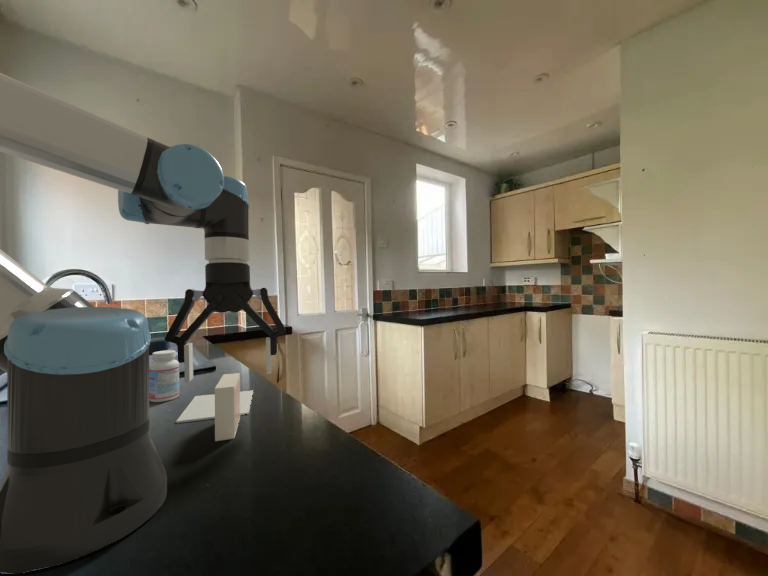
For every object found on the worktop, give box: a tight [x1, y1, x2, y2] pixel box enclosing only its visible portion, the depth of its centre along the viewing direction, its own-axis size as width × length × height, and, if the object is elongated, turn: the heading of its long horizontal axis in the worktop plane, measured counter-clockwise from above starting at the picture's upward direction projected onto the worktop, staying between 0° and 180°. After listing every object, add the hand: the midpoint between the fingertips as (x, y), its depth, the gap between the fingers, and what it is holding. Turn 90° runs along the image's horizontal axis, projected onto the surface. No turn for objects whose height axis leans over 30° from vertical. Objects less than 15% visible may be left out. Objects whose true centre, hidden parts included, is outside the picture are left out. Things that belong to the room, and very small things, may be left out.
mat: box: [175, 389, 254, 424], centre depth 72 cm, size 16×13×1 cm
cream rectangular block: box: [214, 372, 241, 442], centre depth 60 cm, size 10×3×9 cm, turn 19°
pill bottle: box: [149, 349, 180, 403], centre depth 77 cm, size 6×6×11 cm
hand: (230, 376), depth 60 cm, fingers open, 13 cm apart
